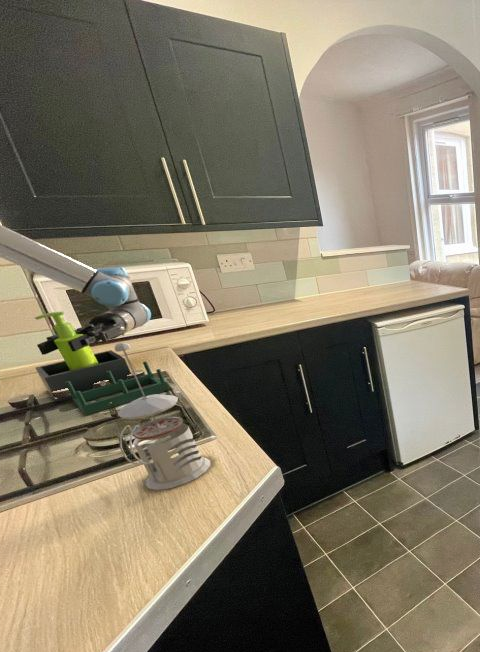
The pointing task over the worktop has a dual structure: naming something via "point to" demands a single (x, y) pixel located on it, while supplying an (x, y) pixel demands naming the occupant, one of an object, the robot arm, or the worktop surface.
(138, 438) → the french press
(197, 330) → the worktop surface
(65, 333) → the soap dispenser
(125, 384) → the dish rack
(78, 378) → the basin
